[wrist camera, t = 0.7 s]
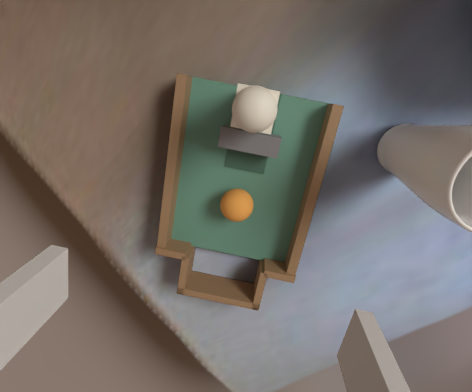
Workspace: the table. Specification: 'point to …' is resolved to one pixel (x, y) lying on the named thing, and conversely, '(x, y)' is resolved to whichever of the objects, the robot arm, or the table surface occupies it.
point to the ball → (236, 205)
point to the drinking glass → (433, 166)
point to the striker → (252, 122)
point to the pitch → (242, 177)
